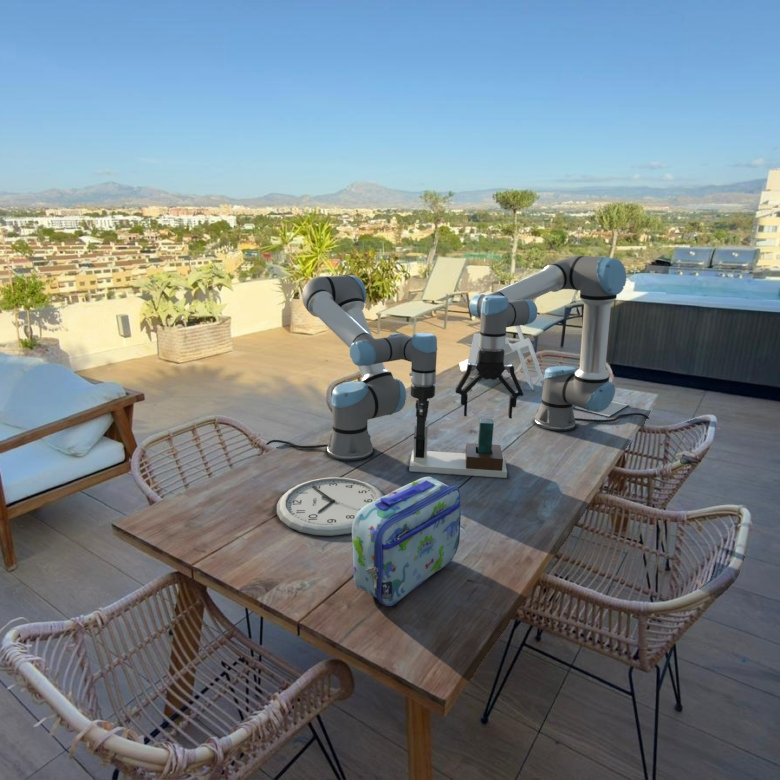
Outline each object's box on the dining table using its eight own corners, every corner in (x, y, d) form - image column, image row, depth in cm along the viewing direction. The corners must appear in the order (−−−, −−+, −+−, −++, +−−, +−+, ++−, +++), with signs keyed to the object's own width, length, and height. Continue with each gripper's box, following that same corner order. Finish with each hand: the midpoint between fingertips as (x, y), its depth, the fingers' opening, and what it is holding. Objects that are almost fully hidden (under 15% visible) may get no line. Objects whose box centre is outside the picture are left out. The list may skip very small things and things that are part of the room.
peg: (489, 460, 168) (492, 419, 164) (490, 465, 164) (493, 423, 160) (476, 459, 168) (479, 418, 164) (477, 464, 164) (480, 422, 160)
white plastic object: (480, 418, 266) (459, 395, 242) (461, 346, 288) (441, 318, 264) (550, 394, 254) (536, 368, 229) (526, 321, 276) (510, 289, 251)
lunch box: (381, 619, 101) (382, 525, 95) (345, 592, 109) (344, 503, 102) (464, 563, 119) (469, 480, 113) (428, 543, 126) (432, 464, 120)
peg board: (503, 461, 172) (506, 421, 167) (506, 477, 160) (510, 435, 156) (412, 455, 175) (413, 416, 171) (409, 471, 164) (410, 429, 159)
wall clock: (392, 527, 129) (268, 531, 127) (391, 533, 130) (269, 537, 127) (383, 473, 158) (282, 475, 155) (383, 478, 158) (282, 480, 156)
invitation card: (608, 416, 214) (573, 407, 224) (608, 416, 214) (573, 408, 224) (628, 404, 229) (594, 396, 238) (628, 405, 229) (594, 397, 238)
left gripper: (413, 375, 170) (411, 440, 177) (408, 392, 152) (406, 464, 159) (436, 376, 169) (433, 442, 176) (434, 393, 151) (430, 466, 158)
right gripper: (533, 347, 157) (527, 413, 164) (449, 344, 160) (447, 409, 167) (536, 353, 150) (530, 421, 157) (449, 350, 153) (446, 418, 159)
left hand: (420, 452), depth 168 cm, fingers closed on peg board, 6 cm apart
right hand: (487, 415), depth 162 cm, fingers open, 13 cm apart
